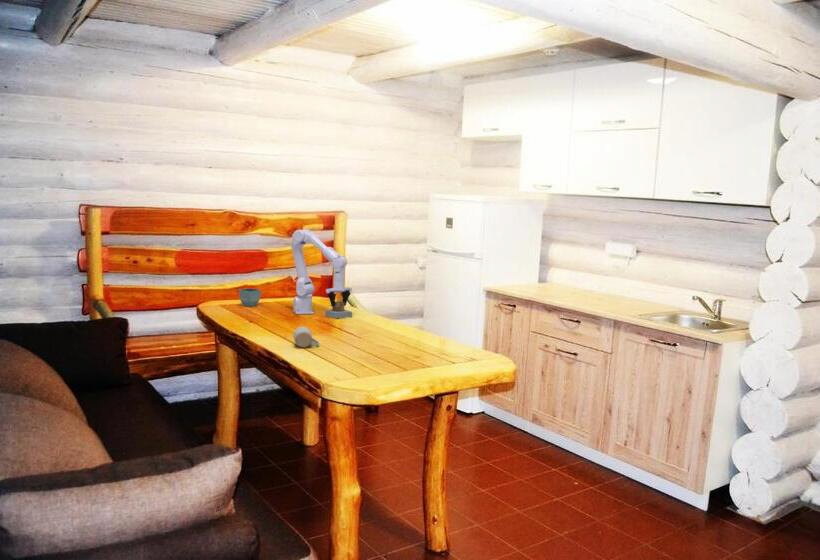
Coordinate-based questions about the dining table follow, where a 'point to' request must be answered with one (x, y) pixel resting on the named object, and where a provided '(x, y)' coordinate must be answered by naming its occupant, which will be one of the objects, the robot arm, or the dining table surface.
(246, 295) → the flower pot
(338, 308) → the walnut cube
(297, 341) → the ceramic mug
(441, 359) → the dining table surface
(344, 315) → the base block
